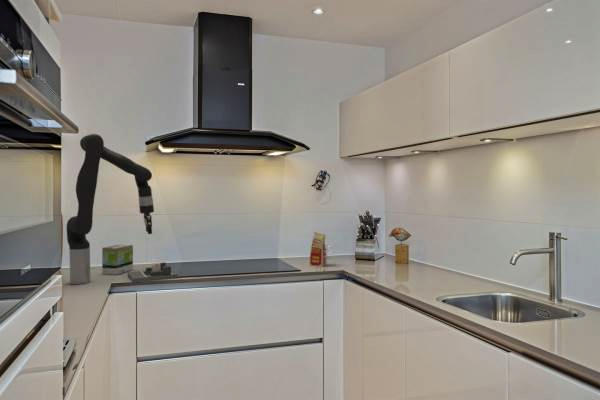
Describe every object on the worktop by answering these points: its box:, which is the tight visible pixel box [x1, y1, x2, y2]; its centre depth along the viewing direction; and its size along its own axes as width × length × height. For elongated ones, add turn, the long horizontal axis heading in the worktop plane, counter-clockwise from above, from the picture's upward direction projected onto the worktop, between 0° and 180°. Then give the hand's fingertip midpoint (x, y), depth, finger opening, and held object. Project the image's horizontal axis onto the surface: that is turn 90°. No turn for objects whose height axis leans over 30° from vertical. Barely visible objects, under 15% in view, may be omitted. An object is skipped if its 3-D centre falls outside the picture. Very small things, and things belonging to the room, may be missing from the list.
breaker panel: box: [127, 262, 178, 283], centre depth 239 cm, size 22×18×6 cm
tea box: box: [101, 244, 134, 275], centre depth 254 cm, size 15×10×15 cm
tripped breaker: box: [151, 262, 161, 271], centre depth 240 cm, size 4×3×5 cm
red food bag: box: [308, 231, 327, 268], centre depth 269 cm, size 9×9×20 cm
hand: (149, 232), depth 255 cm, fingers open, 8 cm apart
